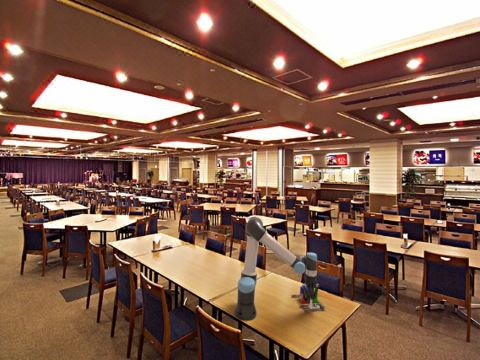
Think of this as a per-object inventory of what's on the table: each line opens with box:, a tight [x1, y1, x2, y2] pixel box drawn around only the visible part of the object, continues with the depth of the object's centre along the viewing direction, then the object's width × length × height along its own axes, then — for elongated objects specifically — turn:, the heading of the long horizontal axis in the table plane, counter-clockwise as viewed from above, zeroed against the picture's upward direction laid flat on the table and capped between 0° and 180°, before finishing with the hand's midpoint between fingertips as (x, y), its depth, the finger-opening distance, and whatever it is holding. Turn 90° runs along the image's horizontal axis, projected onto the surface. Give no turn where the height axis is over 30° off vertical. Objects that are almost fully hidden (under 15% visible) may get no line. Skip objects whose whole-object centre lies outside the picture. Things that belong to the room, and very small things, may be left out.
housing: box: [290, 293, 327, 313], centre depth 192 cm, size 17×24×4 cm
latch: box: [311, 305, 320, 310], centre depth 183 cm, size 6×2×3 cm, turn 100°
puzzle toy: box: [299, 285, 319, 304], centre depth 197 cm, size 10×10×10 cm
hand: (310, 308), depth 183 cm, fingers closed
